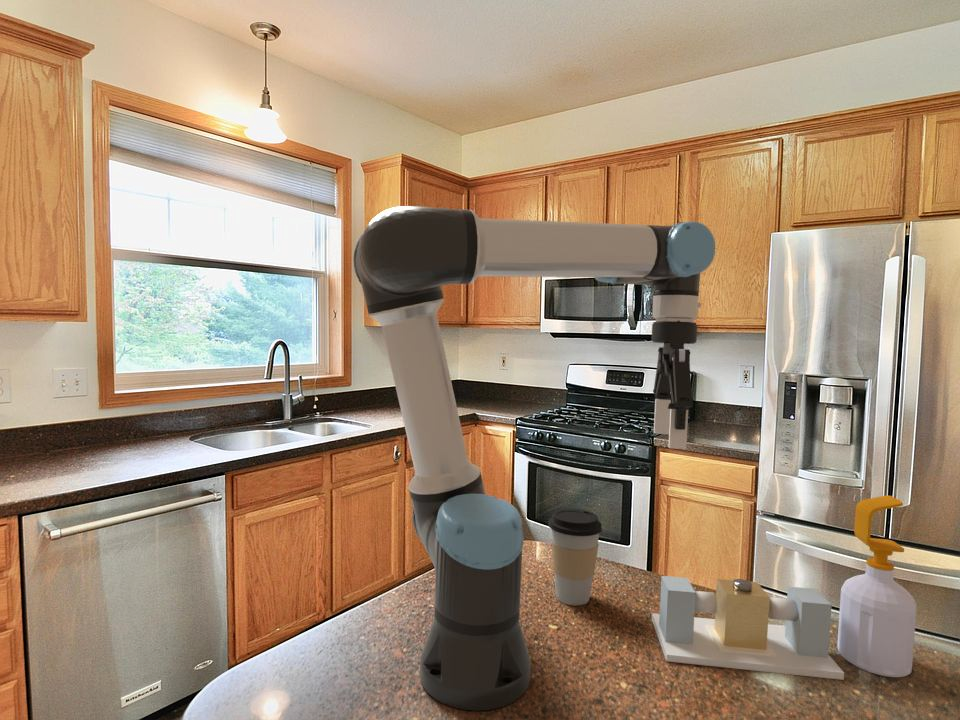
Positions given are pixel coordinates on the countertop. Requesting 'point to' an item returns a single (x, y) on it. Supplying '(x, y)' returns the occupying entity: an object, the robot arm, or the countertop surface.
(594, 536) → the coffee cup
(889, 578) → the soap bottle
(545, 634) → the countertop surface
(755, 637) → the block
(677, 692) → the countertop surface
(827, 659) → the shaft rig
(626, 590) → the countertop surface
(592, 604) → the countertop surface
